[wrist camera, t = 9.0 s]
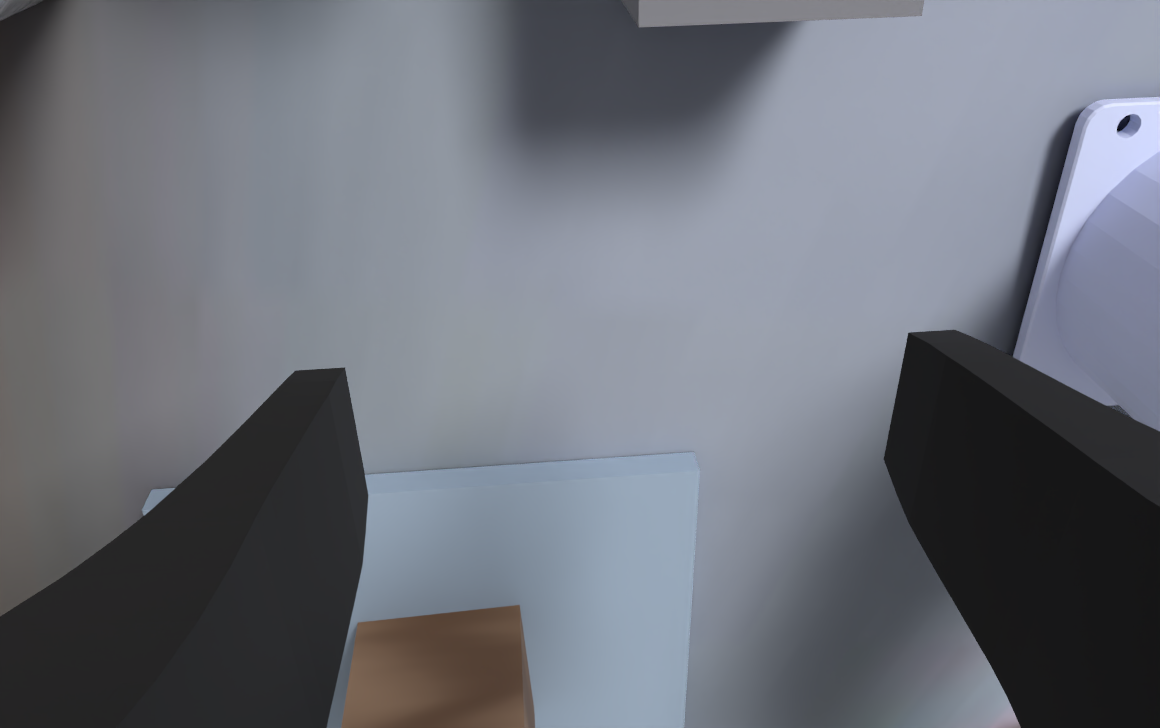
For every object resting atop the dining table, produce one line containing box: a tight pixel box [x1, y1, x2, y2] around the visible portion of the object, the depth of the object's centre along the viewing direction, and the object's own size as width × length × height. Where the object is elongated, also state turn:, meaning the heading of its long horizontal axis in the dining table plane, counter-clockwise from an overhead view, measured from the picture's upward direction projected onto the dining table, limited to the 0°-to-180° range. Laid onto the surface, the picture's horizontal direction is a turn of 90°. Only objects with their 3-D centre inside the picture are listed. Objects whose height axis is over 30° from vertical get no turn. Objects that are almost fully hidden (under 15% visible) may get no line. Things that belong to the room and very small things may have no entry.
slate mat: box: [142, 452, 700, 728], centre depth 27 cm, size 14×14×1 cm
